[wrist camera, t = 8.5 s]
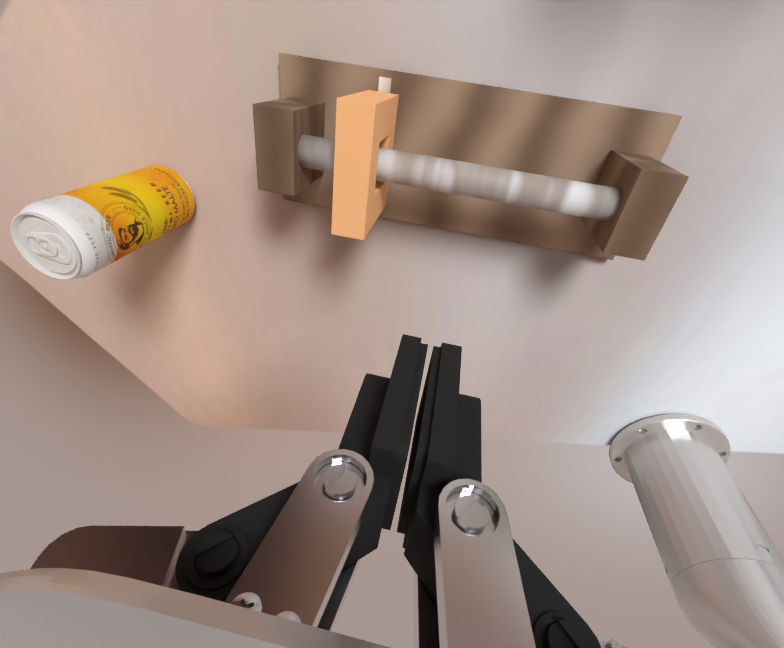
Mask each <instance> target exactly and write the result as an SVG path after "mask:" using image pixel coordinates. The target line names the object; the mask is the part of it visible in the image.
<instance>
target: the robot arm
mask: <svg viewBox="0 0 784 648" xmlns="http://www.w3.org/2000/svg"><path fill="white" fill-rule="evenodd" d="M427 347H428V345H427V344H422V343H421V338H418V337H414V336H409V335H404V334H403V336H402V339H401V343H400V346H399V350H398V353H397V357H396V360H395V364H394V367H393V371H392V374H391V378H386V377H381V376H377V375H372V374H368V373H367V374H366V376H365V378H364V381H363V383H362V386H361V389H360V392H359V394H358V397H357V400H356V403H355V405H354V408H353V411H352V413H351V416H350V419H349V422H348V424H347V427H346V430H345V433H344V436H343V438H342V441H341V443H340V446H339V449H334V450H331V451H328V452H324V453H323V454H321V455H320V456H318V457H316V459H315V460H314V461H313V462H312V463H311V464H310V466H309V467H308V469H307V470H306V472H305V474H304V475H303V477H302V478H301V480H300V482H298V483H296V484H294V485H292V486H290V487H287V488H285V489H283V490H282V491H279V492H277V493H275V494H273V495H270V496H269V497H266V498H264V499H262V500H260V501H258V502H256V503H253V504H251V505H249V506H247V507H245V508H243V509H241V510H239V511H237V512H235V513H232V514H230V515H228V516H226V517H224V518H222V519H220V520H218V521H215V522H213V523H211V524H209V525H207V526H206V527H204V528H202V529H201V530H199V531H185V527H184V526H85V527H79V528H76V529H73V530H71V531H69V532H67V533H64V534H62V535H61V536H60V537H58V538H57V539H55V540H54V541H53V542H52V543H50V544H49V545H48V546H47V547H46V548H45V549H44V551H43V552H42V553H41V554H40V555H39V557H38V558H37V560H36V561H35V562H34V564H33V565H32V567H31V569H28V570H18V571H11V572H6V573H0V648H389V647H385V646H382V645H378V644H375V643H371V642H367V641H364V640H360V639H357V638H353V637H349V636H345V635H342V634H339V633H335V632H332V631H333V629H334V626H335V624H336V621H337V619H338V616H339V613H340V611H341V609H342V606H343V603H344V601H345V598H346V596H347V593H348V591H349V588H350V585H351V583H352V581H353V578H354V576H355V573H356V571H357V568H358V565H359V562H360V559H361V558H362V557H364V556H365V555H367V554H369V553H370V552H372V551H373V550H375V549H376V548H377V547H378V542H379V538H380V533H381V528H383V529H388V530H390V528H391V524H392V520H393V516H394V512H395V507H396V503H397V499H398V495H399V490H400V486H401V482H402V478H403V474H404V469H405V465H406V461H407V456H408V451H409V446H410V441H411V435H412V430H413V424H414V419H415V413H416V408H417V402H418V397H419V391H420V386H421V380H422V375H423V369H424V364H425V358H426V353H427ZM461 350H462V347H461V346H456V345H451V344H446V343H442V345H441V347H436V346H434V348H433V352H432V356H431V360H430V364H429V368H428V373H427V377H426V381H425V385H424V390H423V394H422V398H421V402H420V406H419V411H418V415H417V420H416V425H415V431H414V437H413V442H412V449H411V454H410V459H409V465H408V471H407V477H406V482H405V488H404V494H403V500H402V505H401V511H400V517H399V522H398V528H397V532H399V533H403V534H405V537H404V543H403V548H405V552H404V555H405V557H406V559H407V560H408V562H409V563H410V565H411V566H412V567H413V569H414V648H628V647H626V646H624V645H622V644H620V643H618V642H616V641H614V640H612V639H611V640H610V641H609V642H606V641H604V640H602V639H600V638H598V637H596V636H595V634H594V633H593V632H592V630H591V629H590V627H589V626H588V625H587V623H586V622H585V621H584V620H583V619H582V618H581V617H580V615H579V614H578V613H577V612H576V611H575V610H574V609H573V607H572V606H571V605H570V604H569V603H568V602H567V600H566V599H565V598H564V597H563V596H562V595H561V594H560V592H559V591H558V590H557V589H556V588H555V587H554V586H553V584H552V583H551V582H550V581H549V580H548V579H547V578H546V576H545V575H544V574H543V573H542V572H541V570H539V568H538V567H537V566H536V565H535V564H534V563H533V562H532V560H531V559H530V558H529V557H528V556H527V555H526V553H525V552H524V551H523V550H522V549H521V548H520V546H519V545H518V544H517V543H516V542H515V541H514V540H513V538H512V535H511V530H510V526H509V521H508V517H507V512H506V510H505V507H504V505H503V502H502V501H501V499H500V498H499V497H498V495H497V494H496V493H495V492H494V491H493V490H492V489H491V488H489V487H488V486H487V485H484V484H483V483H482V481H481V400H480V398H476V397H471V396H467V395H462V394H459V384H460V367H461ZM729 455H730V445H729V441H728V439H727V438H726V436H725V435H724V433H723V432H722V431H721V430H720V428H719V427H718V426H716V425H715V424H713V423H712V422H710V421H708V420H705V419H703V418H700V417H696V416H692V415H684V414H665V415H658V416H653V417H649V418H645V419H642V420H640V421H638V422H635V423H633V424H631V425H630V426H628V427H626V428H625V429H623V430H622V431H621V432H620V433H619V434H618V435H617V436H616V437H615V438H614V439H613V441H612V443H611V445H610V450H609V456H610V460H611V463H612V466H613V468H614V469H615V471H616V472H617V473H618V474H619V475H620V476H621V477H622V478H624V479H626V480H627V481H629V482H632V483H633V484H634V487H635V490H636V492H637V495H638V498H639V500H640V503H641V506H642V508H643V511H644V514H645V516H646V519H647V522H648V524H649V527H650V530H651V533H652V535H653V538H654V540H655V543H656V546H657V548H658V551H659V554H660V557H661V559H662V562H663V565H664V567H665V570H666V573H667V575H668V578H669V581H670V583H671V586H672V588H673V592H674V594H675V597H676V599H677V602H678V604H679V606H680V609H681V610H682V612H683V614H684V615H685V617H686V618H687V620H688V621H689V623H690V624H691V625H692V626H693V628H694V629H695V630H696V631H697V632H698V633H699V634H700V635H701V636H702V637H703V638H704V639H706V640H707V641H708V642H709V643H710V644H711V645H713V646H714V647H715V648H784V559H783V557H782V555H781V554H780V552H779V551H778V549H777V548H776V546H775V544H774V543H773V541H772V539H771V538H770V536H769V534H768V533H767V531H766V530H765V528H764V526H763V525H762V523H761V522H760V520H759V518H758V517H757V515H756V514H755V512H754V511H753V509H752V507H751V506H750V504H749V502H748V501H747V499H746V497H745V496H744V494H743V493H742V491H741V490H740V488H739V486H738V485H737V483H736V481H735V480H734V478H733V477H732V475H731V474H730V472H729V470H728V469H727V467H726V465H725V463H726V462H727V460H728V458H729Z"/></svg>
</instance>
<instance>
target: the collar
mask: <svg viewBox="0 0 784 648" xmlns="http://www.w3.org/2000/svg"><path fill="white" fill-rule="evenodd" d="M398 99H399V95H397V94H391V93H385V92H378V91H372V90H367V91H363V92H359V93H354V94H350V95H346V96H342V97H338V98H337V104H336V129H335V154H334V179H333V204H332V229H331V234H333V235H339V236H344V237H349V238H354V239H360V240H364V239H365V237H366V236H367V234H368V232H369V231H370V229H371V228H372V226H373V225H374V223H375V221H376V220H377V218H378V217H379V215H380V214H381V212H382V210H383V209H384V207H385V206H386V201H387V193H388V184H389V183H388V182H383V181H377V180H376V174H377V164H378V154H379V147H381V148H387V149H392V150H393V142H394V133H395V125H396V116H397V108H398Z"/></svg>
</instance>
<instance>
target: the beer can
mask: <svg viewBox="0 0 784 648" xmlns="http://www.w3.org/2000/svg"><path fill="white" fill-rule="evenodd" d="M194 209H195V203H194V195H193V192H192V190H191V188H190V186H189V184H188V183H187V182H186V181H185V179H184V178H183V177H181V176H180V175H179V174H177V173H176V172H175V171H173V170H171V169H170V168H167V167H164V166H160V165H153V166H149V167H146V168H143V169H140V170H136V171H133V172H130V173H127V174H124V175H120V176H117V177H114V178H111V179H108V180H105V181H101V182H98V183H95V184H92V185H89V186H85V187H82V188H79V189H76V190H73V191H70V192H66V193H63V194H60V195H57V196H54V197H50V198H47V199H44V200H41V201H38V202H35V203H31V204H29V205H27V206H25V207H24V208H23V209H22V211H21V212H20V213H19V214H18V215H16V216H15V217H14V218H13V220H12V221H11V225H10V231H11V236H12V239H13V242H14V244H15V246H16V247H17V249H18V250H19V252H20V253H21V254H22V256H23V257H24V258H25V259H26V260H27V261H28V262H29V263H30V264H31V265H32V266H33V267H35V268H36V269H37V270H39V271H40V272H42V273H44V274H45V275H48V276H50V277H52V278H55V279H61V280H67V279H71V278H84V277H87V276H89V275H91V274H93V273H94V272H96V271H98V270H100V269H102V268H103V267H105V266H107V265H109V264H111V263H113V262H114V261H116V260H118V259H120V258H122V257H124V256H125V255H127V254H129V253H131V252H133V251H135V250H136V249H138V248H140V247H142V246H144V245H146V244H147V243H149V242H151V241H153V240H155V239H157V238H158V237H160V236H162V235H164V234H166V233H167V232H169V231H171V230H173V229H175V228H177V227H178V226H180V225H182V224H184V223H186V222H187V221H189V220H190V219H191V217H192V216H193V213H194Z"/></svg>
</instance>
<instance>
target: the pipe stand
mask: <svg viewBox="0 0 784 648" xmlns="http://www.w3.org/2000/svg"><path fill="white" fill-rule="evenodd" d="M279 65H280V98H281V99H278V100H273V101H267V102H262V103H256V104H253V117H254V132H255V147H256V163H257V178H258V189H259V190H265V191H270V192H276V193H281V194H283V197H284V199H286V200H291V201H297V202H302V203H307V204H313V205H318V206H324V207H329V208H332V204H333V179H334V154H335V129H336V104H337V98H338V97H342V96H346V95H350V94H354V93H359V92H363V91H367V90H372V91H378V92H385V93H391V94H397V95H399V99H398V108H397V116H396V125H395V133H394V142H393V150H392V149H387V148H381V147H379V154H378V164H377V174H376V180H377V181H383V182H388V183H389V184H388V193H387V201H386V206H385V207H384V209H383V210H382V212H381V214H380V215H379V217H383V218H388V219H394V220H399V221H405V222H410V223H415V224H421V225H426V226H432V227H437V228H442V229H448V230H453V231H459V232H464V233H469V234H475V235H480V236H486V237H491V238H496V239H502V240H507V241H513V242H518V243H523V244H529V245H534V246H540V247H545V248H550V249H556V250H561V251H567V252H572V253H577V254H583V255H588V256H594V257H599V258H604V259H610V260H613V258H614V256H615V255H617V256H623V257H628V258H634V259H639V260H645V258H646V257H647V255H648V253H649V251H650V249H651V247H652V245H653V243H654V242H655V240H656V238H657V236H658V234H659V232H660V230H661V228H662V227H663V225H664V223H665V221H666V219H667V217H668V215H669V213H670V212H671V210H672V208H673V206H674V204H675V202H676V200H677V199H678V197H679V195H680V193H681V191H682V189H683V187H684V185H685V184H686V182H687V180H688V178H689V177H688V176H686V175H684V174H682V173H680V172H678V171H676V170H674V169H673V168H671V167H669V166H667V165H665V164H663V163H661V162H660V161H661V159H662V157H663V155H664V153H665V151H666V149H667V147H668V145H669V143H670V141H671V138H672V136H673V134H674V132H675V130H676V128H677V126H678V124H679V122H680V120H681V118H682V116H678V115H672V114H666V113H659V112H653V111H647V110H640V109H634V108H628V107H621V106H615V105H608V104H602V103H596V102H589V101H583V100H576V99H570V98H564V97H557V96H551V95H544V94H538V93H532V92H525V91H519V90H512V89H506V88H500V87H493V86H487V85H480V84H474V83H468V82H461V81H455V80H449V79H442V78H436V77H429V76H423V75H417V74H410V73H404V72H397V71H391V70H385V69H378V68H372V67H365V66H359V65H353V64H346V63H340V62H333V61H327V60H321V59H314V58H308V57H301V56H295V55H289V54H281V53H279Z"/></svg>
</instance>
